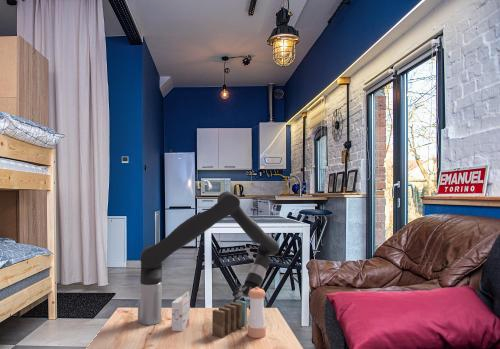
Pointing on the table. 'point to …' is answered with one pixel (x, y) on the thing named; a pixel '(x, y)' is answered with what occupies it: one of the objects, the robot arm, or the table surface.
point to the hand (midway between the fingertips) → (241, 308)
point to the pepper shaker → (256, 313)
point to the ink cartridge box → (180, 313)
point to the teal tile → (243, 311)
